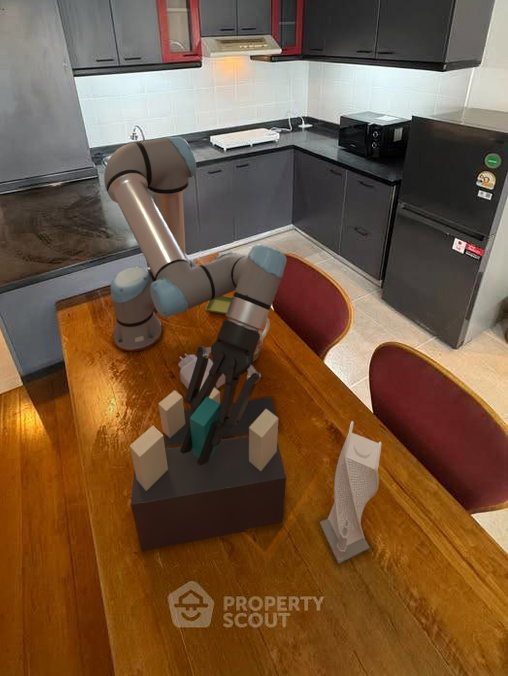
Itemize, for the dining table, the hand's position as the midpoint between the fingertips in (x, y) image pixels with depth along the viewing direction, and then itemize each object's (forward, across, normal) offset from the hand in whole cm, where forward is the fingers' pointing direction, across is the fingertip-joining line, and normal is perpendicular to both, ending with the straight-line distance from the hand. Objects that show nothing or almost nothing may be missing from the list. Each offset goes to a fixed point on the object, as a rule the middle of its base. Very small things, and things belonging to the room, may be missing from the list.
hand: (194, 456), depth 66 cm
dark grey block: (+2, +10, -32) cm, 34 cm away
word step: (+14, 0, -20) cm, 24 cm away
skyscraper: (+7, -25, -28) cm, 38 cm away
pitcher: (-14, +15, -48) cm, 52 cm away
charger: (-4, +24, -38) cm, 45 cm away
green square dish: (-24, +35, -58) cm, 72 cm away
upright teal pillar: (-1, 0, -5) cm, 5 cm away
